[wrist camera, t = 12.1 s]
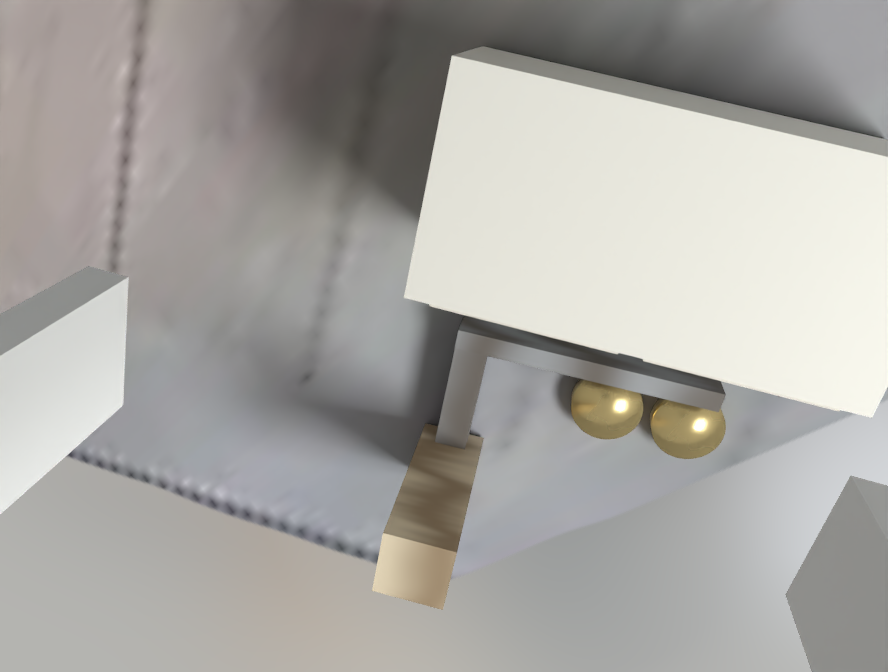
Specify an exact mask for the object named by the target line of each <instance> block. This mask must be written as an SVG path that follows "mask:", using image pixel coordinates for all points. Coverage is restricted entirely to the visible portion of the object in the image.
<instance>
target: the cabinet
mask: <svg viewBox="0 0 888 672" xmlns="http://www.w3.org/2000/svg"><path fill="white" fill-rule="evenodd" d="M404 298H407V299H411V300H415V301H419V302H423V303H427V304H429V306H431V307H435V308H439V309H442V310H446V311H450V312H454V313H458V314H462V315H466V316H470V317H474V318H477V319H481V320H485V321H489V322H493V323H497V324H501V325H505V326H509V327H512V328H516V329H520V330H524V331H528V332H532V333H536V334H540V335H544V336H547V337H551V338H555V339H559V340H563V341H567V342H571V343H575V344H579V345H583V346H586V347H590V348H594V349H598V350H602V351H606V352H610V353H614V354H618V353H621V354H625V355H629V356H633V357H637V358H641V359H643V361H645V362H649V363H653V364H656V365H660V366H664V367H668V368H672V369H676V370H680V371H684V372H688V373H691V374H695V375H699V376H703V377H707V378H711V379H715V380H719V381H723V382H726V383H730V384H734V385H738V386H742V387H746V388H750V389H754V390H758V391H761V392H765V393H769V394H773V395H777V396H781V397H785V398H789V399H793V400H797V401H800V402H804V403H808V404H812V405H816V406H820V407H824V408H828V409H832V410H835V411H840V410H843V411H847V412H851V413H855V414H859V415H863V416H867V417H871V418H872V417H873V414H874V413H875V411H876V409H877V407H878V405H879V403H880V401H881V399H882V397H883V395H884V393H885V391H886V389H887V387H888V140H886V139H882V138H878V137H873V136H869V135H865V134H860V133H856V132H852V131H847V130H843V129H839V128H834V127H830V126H826V125H821V124H817V123H813V122H808V121H804V120H800V119H796V118H791V117H787V116H783V115H778V114H774V113H770V112H765V111H761V110H757V109H752V108H748V107H744V106H739V105H735V104H731V103H726V102H722V101H718V100H713V99H709V98H705V97H700V96H696V95H692V94H687V93H683V92H679V91H674V90H670V89H666V88H661V87H657V86H653V85H649V84H644V83H640V82H636V81H631V80H627V79H623V78H618V77H614V76H610V75H605V74H601V73H597V72H592V71H588V70H584V69H579V68H575V67H571V66H566V65H562V64H558V63H553V62H549V61H545V60H540V59H536V58H532V57H527V56H523V55H519V54H514V53H510V52H506V51H502V50H497V49H493V48H489V47H484V46H482V47H479V48H475V49H472V50H469V51H465V52H462V53H458V54H455V55H452V57H451V62H450V67H449V72H448V77H447V82H446V87H445V93H444V98H443V103H442V108H441V113H440V118H439V123H438V128H437V133H436V138H435V143H434V148H433V153H432V158H431V163H430V168H429V173H428V178H427V183H426V188H425V194H424V199H423V204H422V209H421V214H420V219H419V224H418V229H417V234H416V239H415V244H414V249H413V254H412V259H411V264H410V269H409V274H408V279H407V284H406V289H405V294H404Z"/></svg>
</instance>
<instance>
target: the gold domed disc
mask: <svg viewBox="0 0 888 672" xmlns="http://www.w3.org/2000/svg"><path fill="white" fill-rule="evenodd" d="M650 424H651V431H652V436H653V439H654V441H655V443H656V444H657V445H658V447H659V448H660V449H661V450H663V451H664V452H665V453H667V454H669V455H671V456H674V457H677V458H682V459H693V458H698V457H702V456H704V455H707V454H709V453H710V452H712V451H713V450H714V449H716V447H717V446H718V445H719V444H720V443H721V441H722V439H723V437H724V434H725V429H726V425H725V419H724V416H723V413H722V410H721V408H720V410H719V412H715V411H711V410H707V409H703V408H699V407H695V406H691V405H686V404H682V403H678V402H674V401H670V400H666V399H662V398H660V399H658V401H657V402H656V403H655V405H654V406H653V408H652V411H651V415H650Z"/></svg>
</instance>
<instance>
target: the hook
mask: <svg viewBox="0 0 888 672" xmlns="http://www.w3.org/2000/svg"><path fill="white" fill-rule="evenodd" d="M487 356H489V357H494V358H498V359H502V360H506V361H510V362H514V363H518V364H522V365H526V366H530V367H535V368H539V369H543V370H547V371H551V372H555V373H559V374H563V375H567V376H572V377H576V378H580V379H584V380H588V381H592V382H596V383H600V384H604V385H608V386H613V387H617V388H621V389H625V390H629V391H633V392H637V393H641V394H645V395H650V396H654V397H658V398H662V399H666V400H670V401H674V402H678V403H682V404H686V405H691V406H695V407H699V408H703V409H707V410H711V411H715V412H719V410H720V408H721V405H722V403H723V400H724V398H725V395H726V394H725V392H724V389H723V387H722V384H721V381H719V380H715V379H711V378H707V377H703V376H699V375H695V374H691V373H688V372H684V371H680V370H676V369H672V368H668V367H664V366H660V365H656V364H653V363H649V362H645V361H643V359H641V358H637V357H633V356H629V355H625V354H621V353H618V354H614V353H610V352H606V351H602V350H598V349H594V348H590V347H586V346H583V345H579V344H575V343H571V342H567V341H563V340H559V339H555V338H551V337H547V336H544V335H540V334H536V333H532V332H528V331H524V330H520V329H516V328H512V327H508V326H504V325H500V324H496V323H492V322H487V321H483V320H479V319H475V318H471V317H467V316H464V317H463V320H462V322H461V325H460V327H459V330H458V334H457V339H456V343H455V350H454V355H453V359H452V364H451V369H450V373H449V378H448V383H447V387H446V392H445V397H444V401H443V406H442V411H441V415H440V420H439V425H438V426H434V425H430V424H426V423H425V426H424V429H423V431H422V434H421V436H420V439H419V442H418V444H417V447H416V449H415V452H414V455H413V457H412V460H411V462H410V465H409V468H408V470H407V473H406V475H405V478H404V480H403V483H402V486H401V488H400V491H399V493H398V496H397V499H396V501H395V504H394V506H393V509H392V512H391V514H390V517H389V519H388V522H387V525H386V527H385V530H384V532H383V537H382V542H381V547H380V552H379V557H378V563H377V568H376V573H375V578H374V583H373V589H372V591H375V592H379V593H382V594H386V595H390V596H394V597H397V598H401V599H405V600H408V601H412V602H416V603H419V604H423V605H427V606H430V607H434V608H438V609H441V610H443V606H444V603H445V598H446V595H447V590H448V586H449V582H450V578H451V574H452V570H453V566H454V562H455V558H456V554H457V550H458V545H459V541H460V537H461V533H462V528H463V524H464V520H465V515H466V511H467V507H468V503H469V498H470V494H471V490H472V486H473V481H474V477H475V473H476V468H477V464H478V460H479V456H480V451H481V447H482V443H483V439H484V438H482V437H478V436H474V435H470V434H469V432H470V428H471V424H472V420H473V415H474V411H475V407H476V403H477V398H478V394H479V390H480V386H481V381H482V377H483V373H484V369H485V364H486V360H487Z"/></svg>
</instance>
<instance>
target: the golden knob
mask: <svg viewBox="0 0 888 672" xmlns="http://www.w3.org/2000/svg"><path fill="white" fill-rule="evenodd" d="M571 412H572V416H573V419H574V421H575V422H576V424H577V425H578V426H579V428H580V429H581V430H583V431H584V432H585V433H587V434H589V435H591V436H593V437H596V438H600V439H615V438H619V437H622V436H624V435H626V434H628V433H630V432H631V431H632V430H633V429H635V427H636V426H637V425H638V424H639V422H640V420H641V418H642V415H643V401H642V394H641V393H637V392H633V391H629V390H625V389H621V388H617V387H613V386H608V385H604V384H600V383H596V382H592V381H588V380H584V379H580V380H579V381H578V382H577V383H576V385H575V387H574V389H573V392H572V398H571Z"/></svg>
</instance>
